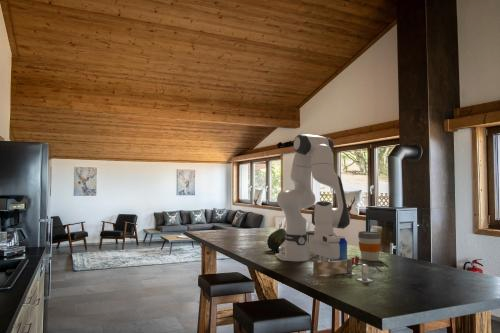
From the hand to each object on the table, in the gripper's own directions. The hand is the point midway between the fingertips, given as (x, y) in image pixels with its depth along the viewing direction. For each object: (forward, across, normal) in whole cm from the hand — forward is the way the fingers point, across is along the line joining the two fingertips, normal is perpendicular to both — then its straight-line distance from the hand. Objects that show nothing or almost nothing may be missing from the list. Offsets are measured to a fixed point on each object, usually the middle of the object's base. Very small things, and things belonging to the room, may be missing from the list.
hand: (324, 266), depth 178 cm
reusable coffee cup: (+4, -22, +44) cm, 49 cm away
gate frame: (+4, +11, +10) cm, 15 cm away
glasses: (+4, -5, +30) cm, 31 cm away
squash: (+4, -63, +7) cm, 63 cm away
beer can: (+4, -6, +12) cm, 14 cm away
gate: (+3, +4, +2) cm, 6 cm away
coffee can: (+4, -41, +20) cm, 46 cm away
